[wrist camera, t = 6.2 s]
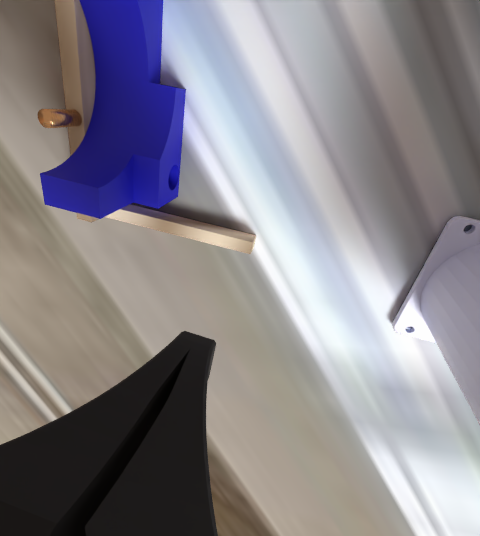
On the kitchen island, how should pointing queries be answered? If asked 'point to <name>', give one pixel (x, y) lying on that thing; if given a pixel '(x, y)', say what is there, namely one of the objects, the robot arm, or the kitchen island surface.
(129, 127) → the blue pipe clamp half
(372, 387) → the kitchen island surface
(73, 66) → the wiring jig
